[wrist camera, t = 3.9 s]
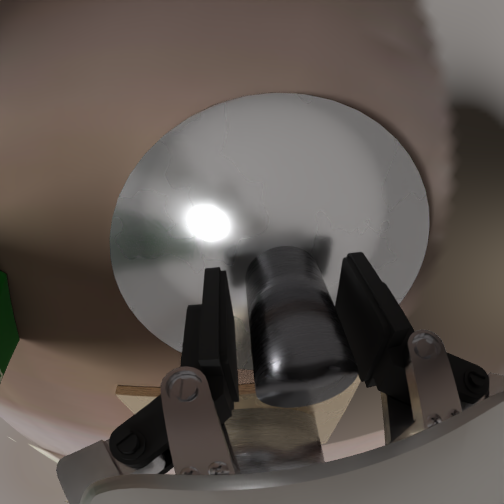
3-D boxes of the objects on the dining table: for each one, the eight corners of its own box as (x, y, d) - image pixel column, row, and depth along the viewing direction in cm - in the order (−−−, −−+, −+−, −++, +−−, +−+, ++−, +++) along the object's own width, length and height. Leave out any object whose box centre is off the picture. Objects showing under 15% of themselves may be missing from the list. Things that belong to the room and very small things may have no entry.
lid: (82, 126, 8) (-37, 192, 3) (433, 105, 8) (552, 152, 3) (167, 360, 16) (158, 450, 11) (382, 333, 16) (416, 412, 11)
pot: (117, 385, 17) (100, 504, 9) (360, 365, 18) (399, 487, 10) (181, 450, 27) (181, 517, 19) (324, 437, 28) (339, 504, 20)
